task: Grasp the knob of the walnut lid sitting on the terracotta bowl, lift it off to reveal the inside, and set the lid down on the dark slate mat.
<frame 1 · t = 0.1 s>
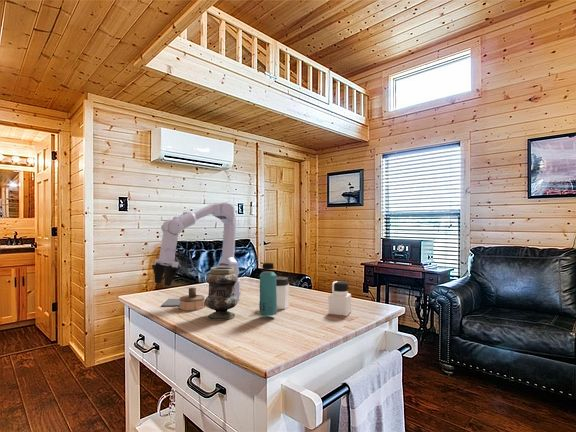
hand: (162, 284, 129), 10 cm above the countertop, tool pointing down, fingers open, 7 cm apart
mat: (179, 303, 142), on the countertop
beverage bottle: (267, 318, 120), on the countertop
bowl: (192, 307, 134), on the countertop
apothecary jar: (221, 317, 121), on the countertop
lid: (192, 299, 134), point 3 cm above the countertop, touching bowl
jar: (278, 307, 136), on the countertop
medicine bottle: (340, 313, 127), on the countertop
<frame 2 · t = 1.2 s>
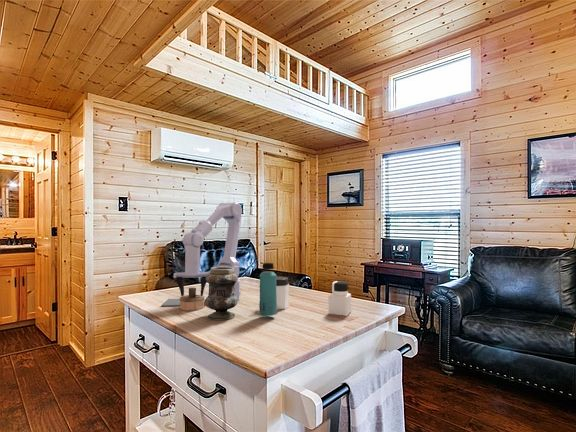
hand: (192, 295, 134), 5 cm above the countertop, tool pointing down, fingers open, 7 cm apart
nothing on the countertop moved.
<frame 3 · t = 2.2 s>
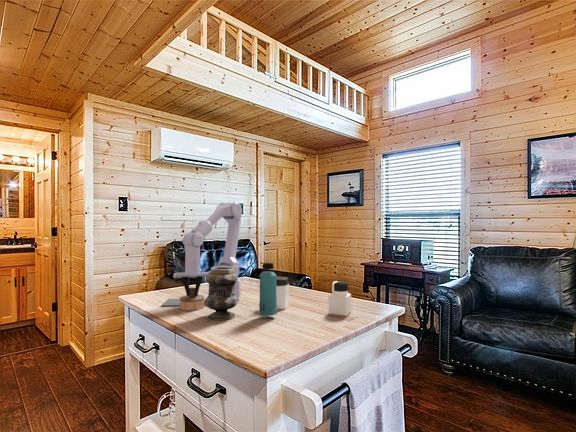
hand: (192, 295, 134), 5 cm above the countertop, tool pointing down, fingers closed on lid, 3 cm apart
lid: (192, 299, 134), point 3 cm above the countertop, touching bowl, gripper
everything else where it was.
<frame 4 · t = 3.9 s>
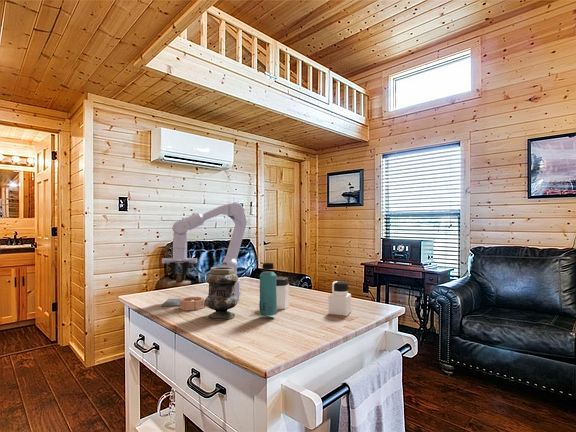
hand: (179, 279, 142), 10 cm above the countertop, tool pointing down, fingers closed on lid, 3 cm apart
lid: (179, 283, 142), point 8 cm above the countertop, touching gripper
everything else where it was.
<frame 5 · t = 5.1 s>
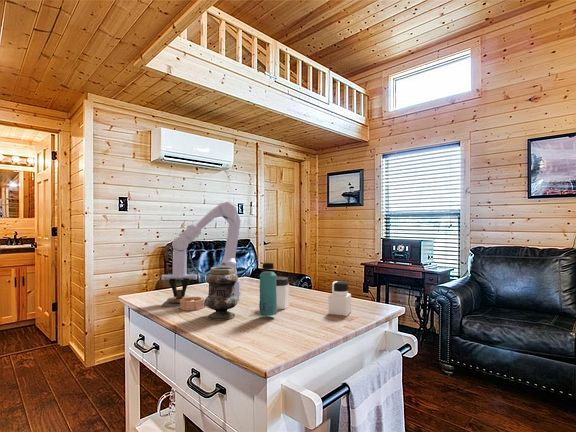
hand: (179, 296, 142), 3 cm above the countertop, tool pointing down, fingers closed on lid, 3 cm apart
lid: (179, 300, 142), point 1 cm above the countertop, touching gripper
everything else where it was.
when the fingers open (3 cm above the countertop, at t = 5.8 s): lid stays where it is, resting on mat.
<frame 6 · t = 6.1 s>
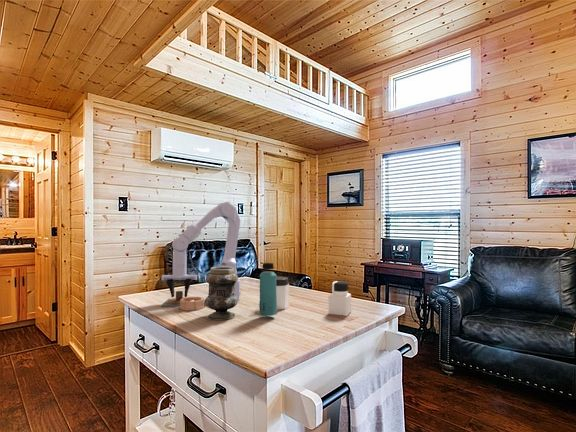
hand: (179, 296, 142), 3 cm above the countertop, tool pointing down, fingers open, 5 cm apart
lid: (179, 301, 142), point 1 cm above the countertop, touching mat
everything else where it was.
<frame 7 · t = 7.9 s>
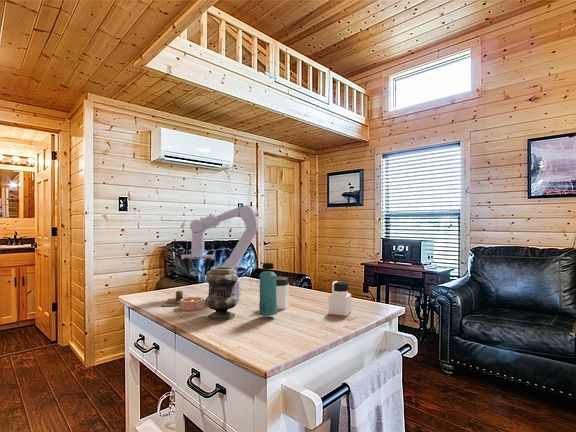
hand: (197, 274, 154), 10 cm above the countertop, tool pointing down, fingers open, 7 cm apart
nothing on the countertop moved.
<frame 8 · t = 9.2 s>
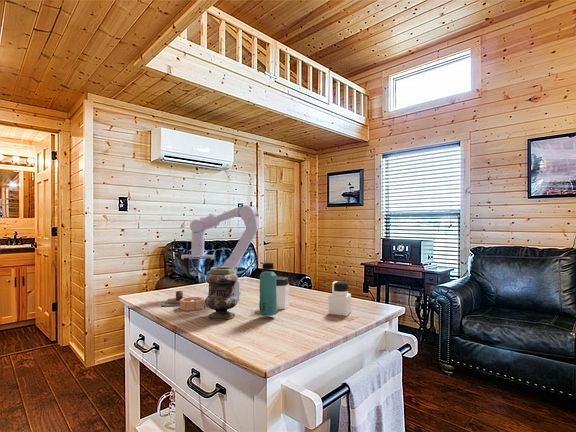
hand: (197, 274, 154), 10 cm above the countertop, tool pointing down, fingers open, 7 cm apart
nothing on the countertop moved.
at the end: lid inside the target area on the mat (0.2 cm from its centre), point 0.6 cm above the mat's base; lid touching mat; lid tilted 0° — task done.
